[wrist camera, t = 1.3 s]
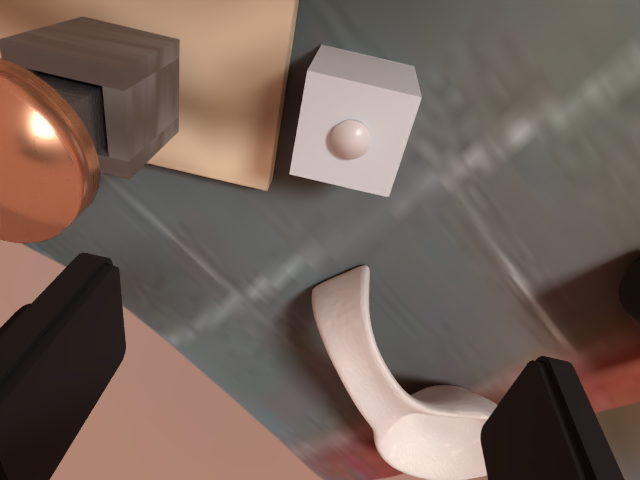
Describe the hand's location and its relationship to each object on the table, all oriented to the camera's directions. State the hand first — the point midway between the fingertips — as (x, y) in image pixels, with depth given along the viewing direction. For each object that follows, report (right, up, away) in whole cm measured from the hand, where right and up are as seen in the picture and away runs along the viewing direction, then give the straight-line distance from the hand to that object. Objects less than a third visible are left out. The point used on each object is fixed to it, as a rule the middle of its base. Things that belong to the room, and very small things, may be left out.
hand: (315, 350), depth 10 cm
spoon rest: (+8, -8, +27) cm, 29 cm away
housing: (+2, +10, +15) cm, 18 cm away
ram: (-10, +9, +10) cm, 17 cm away
